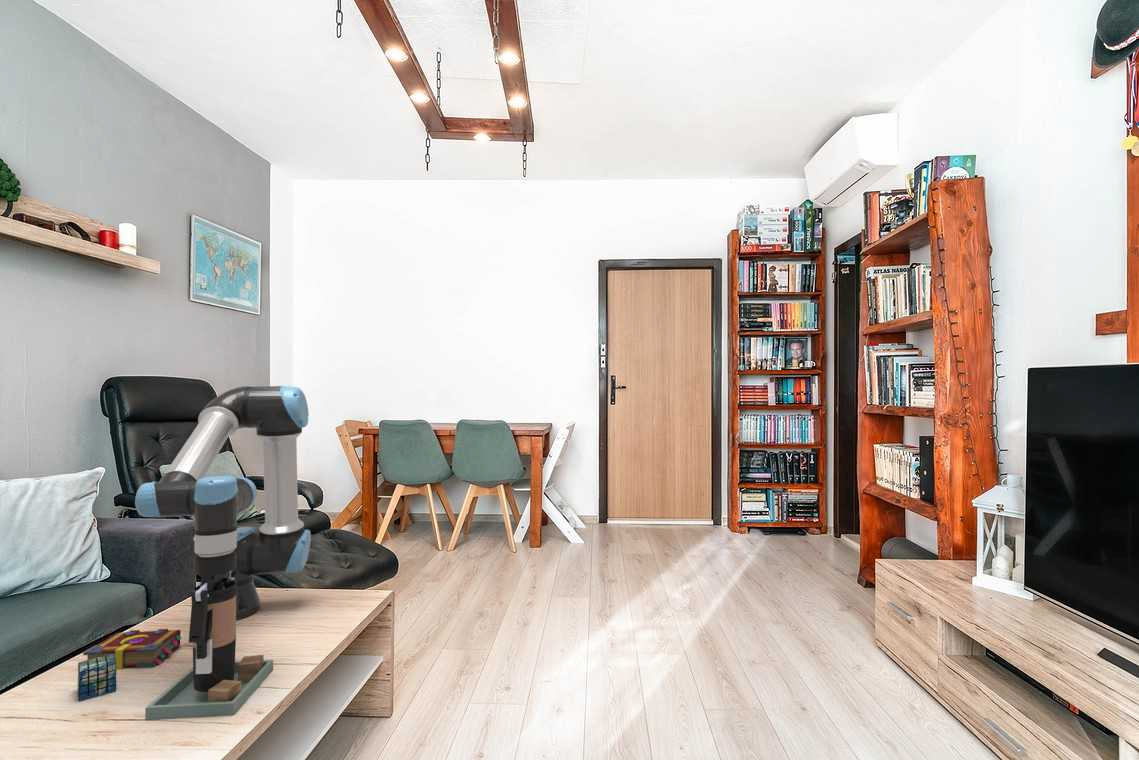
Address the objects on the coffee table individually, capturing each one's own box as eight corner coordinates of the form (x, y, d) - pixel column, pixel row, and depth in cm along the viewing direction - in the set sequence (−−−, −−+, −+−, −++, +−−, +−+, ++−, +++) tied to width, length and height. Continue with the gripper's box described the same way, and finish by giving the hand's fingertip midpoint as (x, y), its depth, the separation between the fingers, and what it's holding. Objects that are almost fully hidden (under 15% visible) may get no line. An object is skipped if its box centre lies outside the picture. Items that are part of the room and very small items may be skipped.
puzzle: (116, 691, 121) (116, 662, 121) (78, 702, 117) (79, 672, 117) (113, 681, 125) (114, 653, 126) (77, 690, 121) (78, 662, 122)
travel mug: (215, 694, 114) (216, 593, 115) (182, 690, 116) (183, 591, 116) (244, 676, 122) (245, 581, 122) (213, 672, 123) (214, 578, 124)
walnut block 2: (243, 675, 126) (243, 656, 126) (263, 672, 127) (263, 654, 127) (238, 684, 122) (238, 665, 122) (258, 681, 123) (258, 662, 123)
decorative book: (116, 649, 141) (116, 629, 141) (186, 646, 143) (186, 626, 143) (82, 672, 130) (82, 650, 130) (158, 668, 131) (159, 646, 132)
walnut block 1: (223, 699, 116) (223, 679, 116) (241, 701, 115) (241, 681, 115) (208, 710, 112) (208, 689, 112) (226, 712, 111) (226, 691, 111)
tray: (197, 676, 127) (197, 663, 127) (273, 673, 128) (273, 659, 128) (145, 723, 109) (145, 707, 109) (233, 719, 110) (234, 703, 111)
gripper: (221, 539, 129) (220, 642, 129) (166, 567, 109) (165, 689, 108) (256, 538, 130) (255, 640, 129) (208, 566, 109) (207, 687, 109)
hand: (214, 662), depth 119 cm, fingers closed on travel mug, 8 cm apart
